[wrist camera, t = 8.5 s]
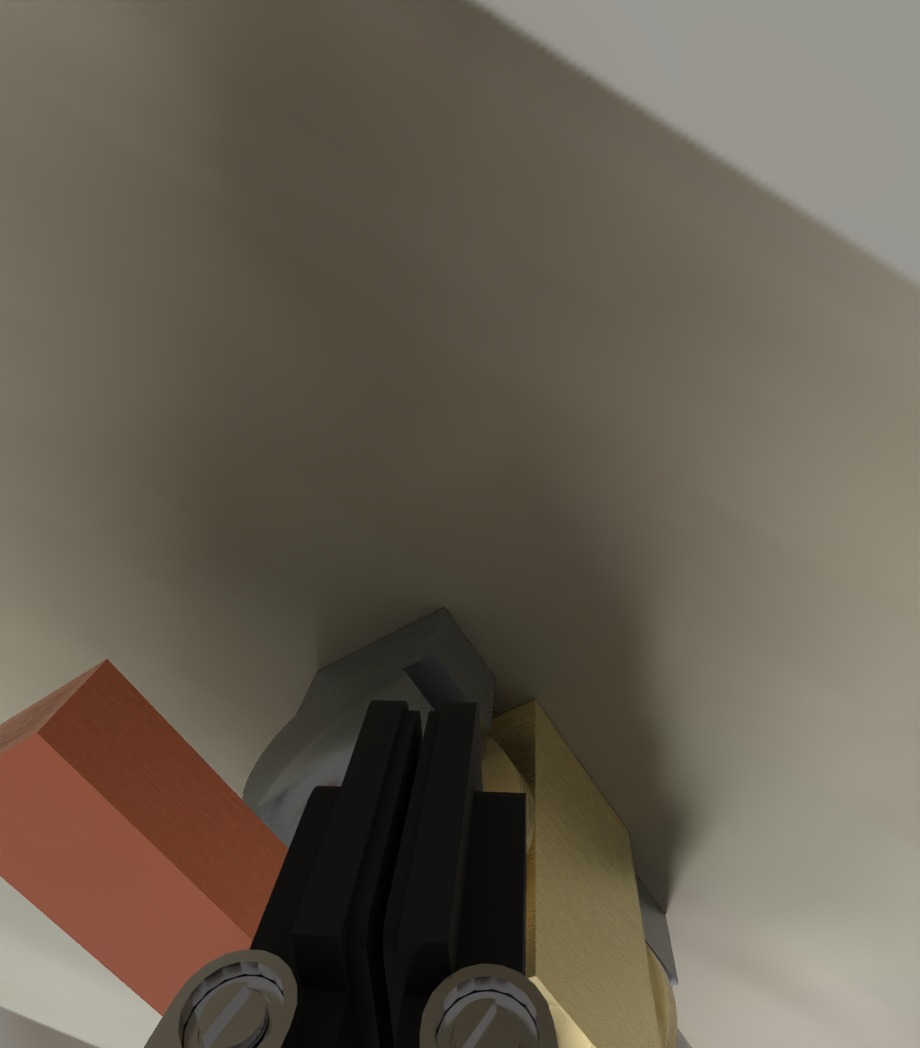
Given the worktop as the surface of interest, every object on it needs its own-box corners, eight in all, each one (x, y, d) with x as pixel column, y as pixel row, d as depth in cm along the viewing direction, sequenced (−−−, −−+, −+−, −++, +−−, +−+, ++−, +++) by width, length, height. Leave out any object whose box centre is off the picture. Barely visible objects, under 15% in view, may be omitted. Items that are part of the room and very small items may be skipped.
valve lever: (593, 1142, 16) (603, 1291, 14) (462, 1175, 17) (450, 1317, 15) (126, 645, 12) (32, 745, 9) (-12, 730, 13) (-126, 839, 10)
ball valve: (535, 968, 28) (535, 1284, 20) (288, 670, 23) (153, 922, 15) (692, 918, 26) (764, 1245, 18) (457, 582, 21) (408, 816, 13)
